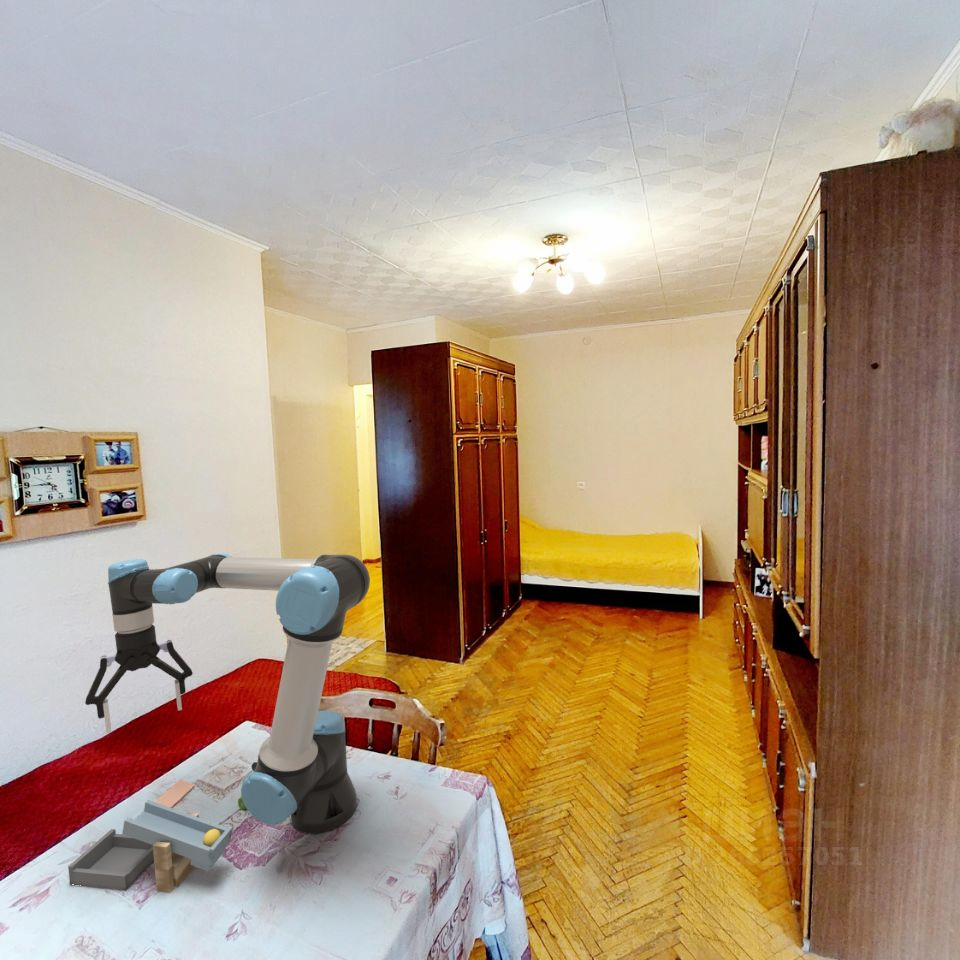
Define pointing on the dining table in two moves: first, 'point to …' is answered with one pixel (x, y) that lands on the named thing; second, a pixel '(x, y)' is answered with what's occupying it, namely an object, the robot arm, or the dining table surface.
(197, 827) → the lever
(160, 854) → the fulcrum
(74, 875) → the tray
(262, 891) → the dining table surface
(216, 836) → the ball
